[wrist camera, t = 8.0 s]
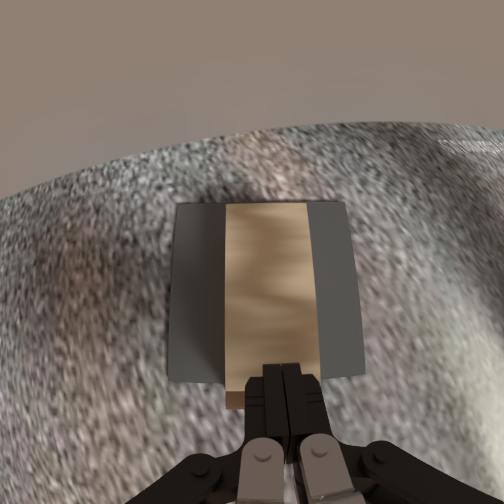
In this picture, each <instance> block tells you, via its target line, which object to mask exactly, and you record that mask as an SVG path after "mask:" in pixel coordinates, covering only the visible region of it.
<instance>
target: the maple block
mask: <svg viewBox="0 0 504 504" xmlns="http://www.w3.org/2000/svg"><path fill="white" fill-rule="evenodd" d="M296 362H299V363H300V367H301V372H302V374H313V375H314V376H315V378H316V379H317V380H318V381H319V382H320V386H321V379H320V355H319V337H318V321H317V306H316V293H315V281H314V270H313V260H312V249H311V240H310V231H309V222H308V213H307V205H306V203H253V204H226V239H225V388H226V409H245V385H246V383H247V381H248V379H249V378H250V377H261V376H262V365H263V364H278V363H280V365H281V363H296Z"/></svg>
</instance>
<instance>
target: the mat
mask: <svg viewBox="0 0 504 504" xmlns="http://www.w3.org/2000/svg"><path fill="white" fill-rule="evenodd" d="M253 203H306V205H307V213H308V222H309V231H310V240H311V249H312V260H313V270H314V281H315V293H316V306H317V321H318V337H319V355H320V379H329V378H338V377H347V376H355V375H363V374H365V357H364V342H363V330H362V319H361V309H360V299H359V291H358V283H357V275H356V267H355V260H354V253H353V247H352V241H351V234H350V228H349V223H348V217H347V212H346V206H345V202H230V203H199V204H178V207H177V216H176V226H175V236H174V248H173V260H172V274H171V290H170V309H169V337H168V381H175V382H194V383H225V239H226V204H253Z"/></svg>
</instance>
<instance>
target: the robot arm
mask: <svg viewBox="0 0 504 504" xmlns="http://www.w3.org/2000/svg"><path fill="white" fill-rule="evenodd" d="M285 459H286V464H292V463H293V469H294V475H293V484H294V489H295V493H296V498H297V503H298V504H504V502H503V501H501V500H499V499H496V498H494V497H492V496H490V495H488V494H485V493H483V492H481V491H479V490H477V489H475V488H473V487H471V486H469V485H466V484H464V483H462V482H460V481H458V480H457V479H455V478H453V477H451V476H449V475H447V474H445V473H443V472H441V471H439V470H437V469H436V468H434V467H432V466H430V465H428V464H426V463H425V462H423V461H421V460H419V459H418V458H416V457H414V456H412V455H411V454H409V453H407V452H405V451H404V450H402V449H400V448H399V447H397V446H395V445H394V444H392V443H390V442H388V441H381V440H380V441H374V442H372V443H370V444H369V445H367V446H366V447H360V446H351V445H346V444H343V443H341V442H340V441H338V440H337V439H336V438H335V437H334V436H333V434H332V432H331V428H330V424H329V419H328V415H327V411H326V407H325V403H324V399H323V395H322V390H321V386H320V382H319V381H318V380H317V379H316V378H315V376H314V375H313V374H302V372H301V367H300V363H299V362H296V363H281V365H280V363H278V364H263V365H262V376H261V377H250V378H249V379H248V381H247V383H246V385H245V437H244V442H243V444H242V446H241V447H240V448H239V449H238V450H237V451H235V452H233V453H231V454H229V455H225V456H221V457H217V458H214V457H212V456H210V455H208V454H202V453H198V454H193V455H190V456H188V457H186V458H185V459H184V460H182V461H181V462H180V463H179V464H177V465H176V466H175V467H174V468H172V469H171V470H170V471H169V472H167V473H166V474H165V475H163V476H162V477H161V478H160V479H158V480H157V481H156V482H154V483H153V484H152V485H150V486H149V487H148V488H146V489H145V490H143V491H142V492H141V493H139V494H138V495H136V496H135V497H134V498H132V499H131V500H129V501H128V502H126V503H125V504H226V503H230V502H234V501H236V503H235V504H284V502H283V483H284V464H285Z"/></svg>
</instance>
